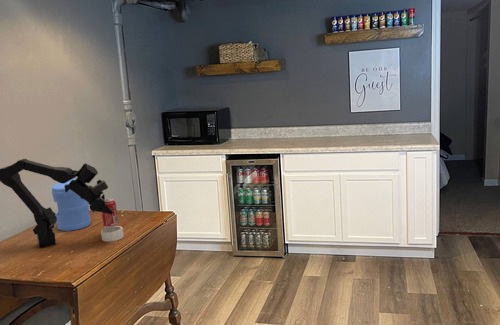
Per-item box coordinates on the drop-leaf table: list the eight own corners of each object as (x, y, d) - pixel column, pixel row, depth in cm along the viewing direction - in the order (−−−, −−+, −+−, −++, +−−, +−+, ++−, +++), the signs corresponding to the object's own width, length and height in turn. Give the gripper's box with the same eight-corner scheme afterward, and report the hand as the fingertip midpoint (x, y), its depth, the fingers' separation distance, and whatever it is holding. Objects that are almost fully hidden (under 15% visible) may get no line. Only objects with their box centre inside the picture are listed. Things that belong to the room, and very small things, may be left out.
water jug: (96, 221, 241) (89, 166, 236) (80, 231, 226) (72, 173, 221) (68, 221, 244) (60, 167, 239) (50, 231, 228) (42, 174, 224)
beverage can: (112, 223, 215) (109, 197, 213) (121, 225, 211) (118, 199, 210) (100, 227, 211) (97, 201, 209) (109, 229, 207) (105, 202, 205)
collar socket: (106, 243, 206) (104, 234, 205) (99, 238, 213) (98, 229, 213) (126, 237, 211) (125, 229, 210) (119, 233, 218) (118, 224, 218)
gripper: (94, 179, 197) (125, 202, 202) (95, 171, 215) (123, 192, 220) (77, 200, 196) (108, 222, 201) (79, 191, 214) (107, 211, 219)
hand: (112, 211), depth 210 cm, fingers closed on beverage can, 6 cm apart
